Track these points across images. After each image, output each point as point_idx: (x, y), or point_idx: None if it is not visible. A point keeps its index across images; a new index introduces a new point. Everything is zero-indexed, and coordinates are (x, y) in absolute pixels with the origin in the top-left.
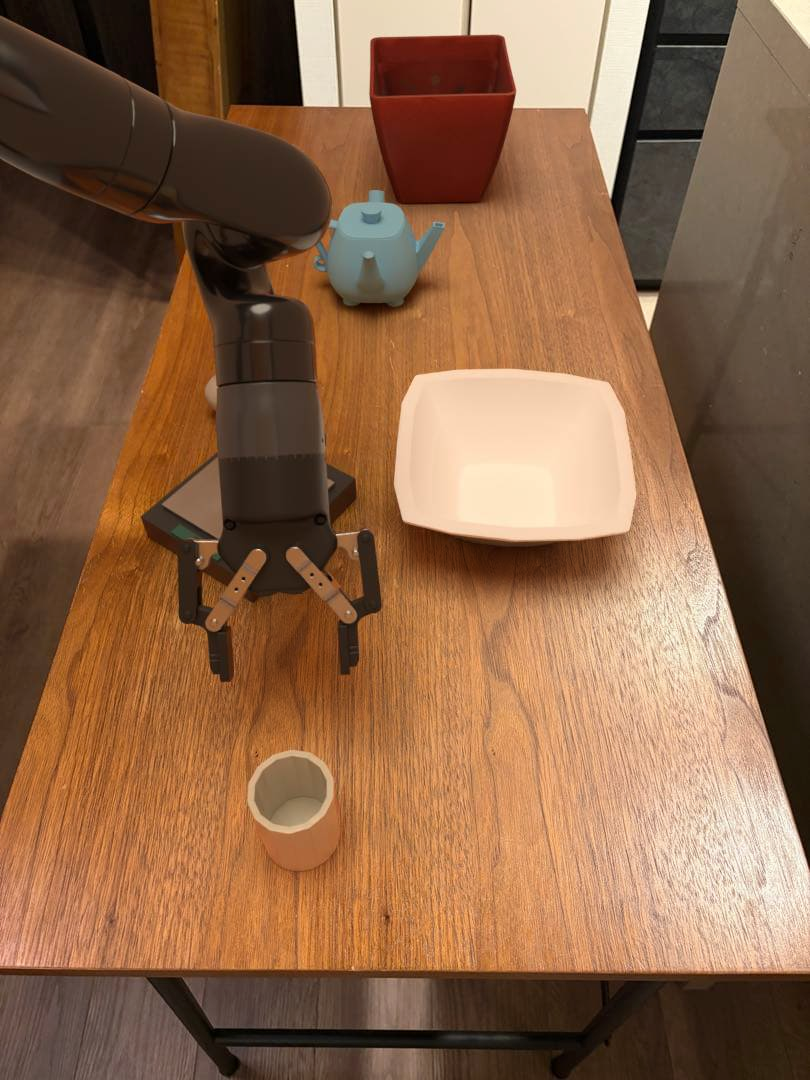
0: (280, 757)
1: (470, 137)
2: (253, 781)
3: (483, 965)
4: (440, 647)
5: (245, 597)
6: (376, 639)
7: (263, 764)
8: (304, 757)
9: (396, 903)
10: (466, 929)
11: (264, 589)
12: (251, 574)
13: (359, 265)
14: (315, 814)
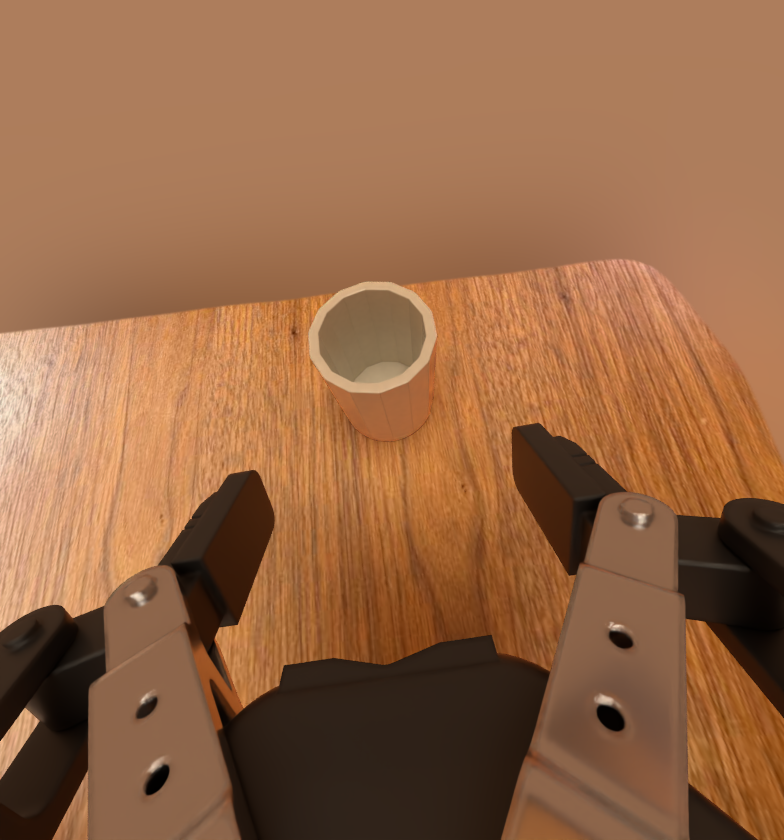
0: (395, 378)
1: None
2: (429, 338)
3: (210, 308)
4: None
5: None
6: None
7: (420, 364)
8: (357, 383)
9: (284, 344)
10: (221, 332)
11: (463, 670)
12: (566, 757)
13: None
14: (331, 307)
